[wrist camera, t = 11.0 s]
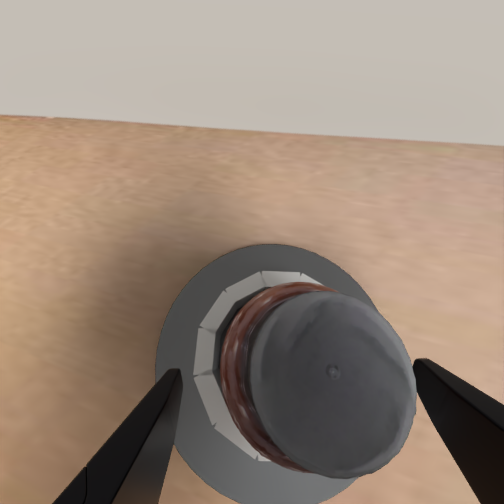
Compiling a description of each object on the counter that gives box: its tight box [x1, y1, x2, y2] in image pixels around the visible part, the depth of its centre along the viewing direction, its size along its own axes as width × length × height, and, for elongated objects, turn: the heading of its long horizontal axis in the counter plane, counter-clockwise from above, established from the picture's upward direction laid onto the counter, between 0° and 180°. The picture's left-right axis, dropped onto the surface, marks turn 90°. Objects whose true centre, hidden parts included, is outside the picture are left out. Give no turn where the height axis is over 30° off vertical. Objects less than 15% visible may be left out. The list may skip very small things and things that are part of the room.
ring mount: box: [155, 244, 378, 504], centre depth 15 cm, size 16×16×4 cm
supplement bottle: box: [220, 282, 417, 479], centre depth 11 cm, size 6×6×11 cm
